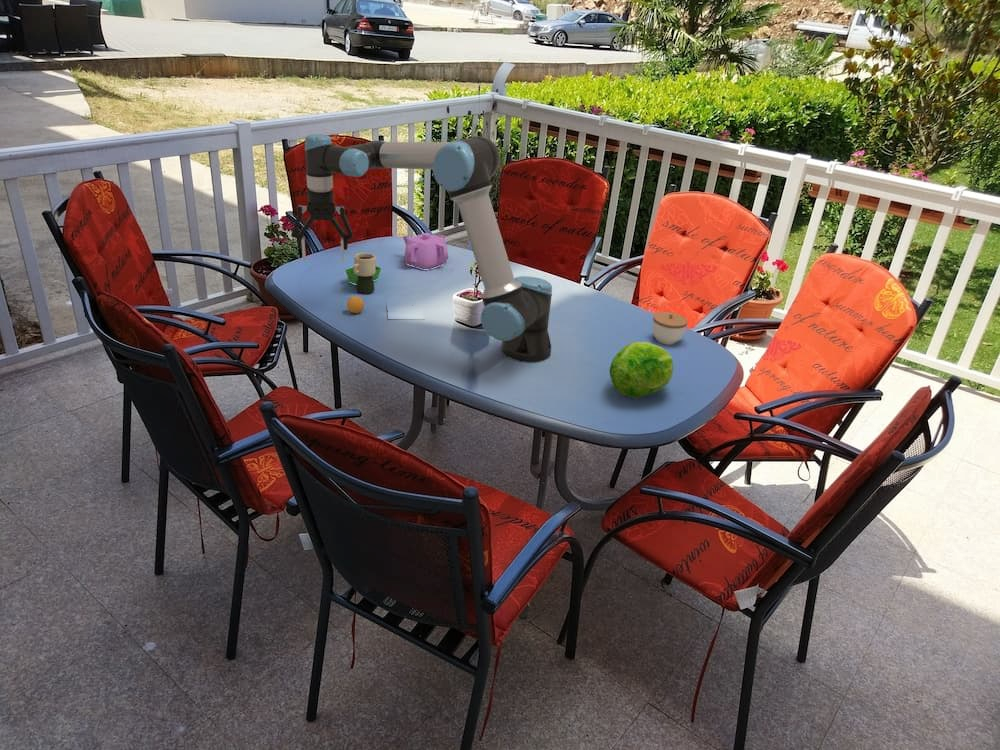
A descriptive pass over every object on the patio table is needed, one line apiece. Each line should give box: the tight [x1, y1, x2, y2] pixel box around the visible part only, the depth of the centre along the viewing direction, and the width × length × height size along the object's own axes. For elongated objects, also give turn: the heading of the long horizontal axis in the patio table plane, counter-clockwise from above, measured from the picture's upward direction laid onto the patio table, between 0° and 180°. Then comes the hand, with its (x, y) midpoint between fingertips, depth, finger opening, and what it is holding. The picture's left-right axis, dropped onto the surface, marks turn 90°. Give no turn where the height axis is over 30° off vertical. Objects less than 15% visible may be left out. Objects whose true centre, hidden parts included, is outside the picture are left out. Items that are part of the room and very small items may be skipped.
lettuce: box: [609, 341, 674, 399], centre depth 194 cm, size 15×23×16 cm
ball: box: [346, 295, 365, 314], centre depth 230 cm, size 6×6×6 cm
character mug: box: [352, 252, 377, 294], centre depth 245 cm, size 11×7×13 cm, turn 147°
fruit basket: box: [345, 265, 382, 284], centre depth 253 cm, size 11×9×11 cm
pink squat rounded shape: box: [402, 232, 449, 269], centre depth 275 cm, size 17×17×12 cm
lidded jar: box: [652, 311, 688, 346], centre depth 227 cm, size 11×11×9 cm
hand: (323, 259), depth 221 cm, fingers open, 11 cm apart
